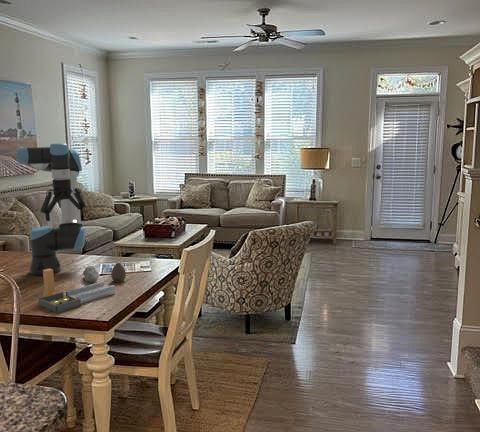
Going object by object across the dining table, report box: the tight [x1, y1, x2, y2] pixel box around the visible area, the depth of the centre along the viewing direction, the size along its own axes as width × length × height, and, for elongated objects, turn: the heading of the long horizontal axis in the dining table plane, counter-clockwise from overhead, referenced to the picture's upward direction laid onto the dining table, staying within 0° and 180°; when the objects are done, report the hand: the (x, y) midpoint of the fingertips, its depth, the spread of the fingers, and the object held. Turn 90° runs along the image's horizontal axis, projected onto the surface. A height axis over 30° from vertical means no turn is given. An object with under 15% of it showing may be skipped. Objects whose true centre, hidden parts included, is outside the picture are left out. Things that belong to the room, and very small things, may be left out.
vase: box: [110, 262, 127, 283], centre depth 228 cm, size 7×7×9 cm
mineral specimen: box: [82, 265, 100, 284], centre depth 229 cm, size 16×7×7 cm, turn 24°
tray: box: [38, 291, 82, 314], centre depth 195 cm, size 14×11×3 cm
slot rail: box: [65, 281, 116, 305], centre depth 206 cm, size 10×18×4 cm, turn 140°
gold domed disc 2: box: [59, 296, 69, 304], centre depth 197 cm, size 4×4×2 cm
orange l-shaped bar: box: [42, 269, 58, 297], centre depth 203 cm, size 6×3×13 cm, turn 51°
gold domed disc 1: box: [50, 300, 60, 305], centre depth 194 cm, size 4×4×2 cm
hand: (64, 225), depth 213 cm, fingers open, 13 cm apart
